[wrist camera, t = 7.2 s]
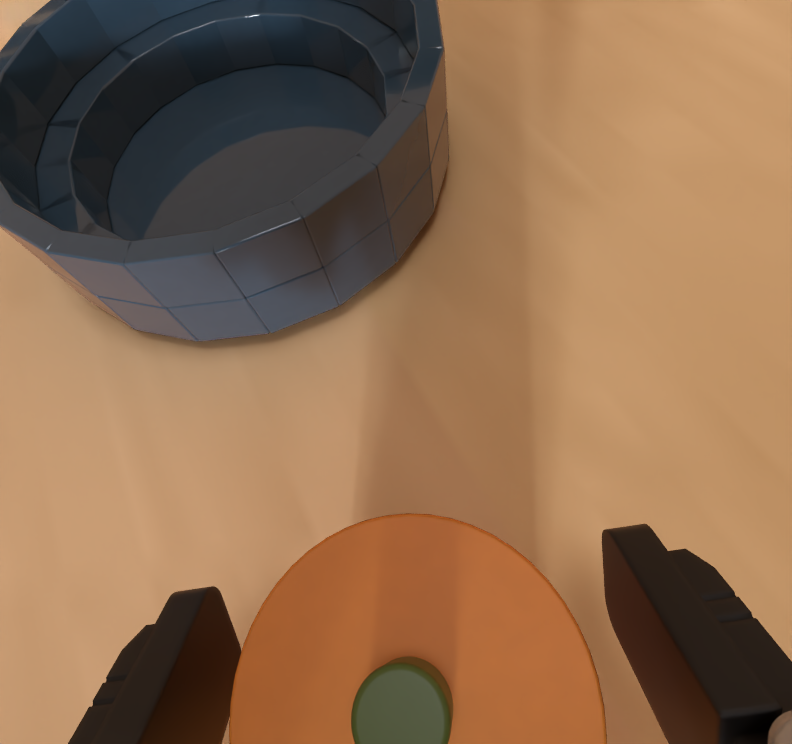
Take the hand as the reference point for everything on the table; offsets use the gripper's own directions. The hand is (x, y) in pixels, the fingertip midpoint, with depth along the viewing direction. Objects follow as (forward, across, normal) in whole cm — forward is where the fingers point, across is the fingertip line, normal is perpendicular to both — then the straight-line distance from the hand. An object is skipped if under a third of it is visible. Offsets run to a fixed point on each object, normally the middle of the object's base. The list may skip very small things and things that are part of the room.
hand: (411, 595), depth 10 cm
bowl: (+15, +5, -8) cm, 18 cm away
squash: (+2, 0, +4) cm, 5 cm away
